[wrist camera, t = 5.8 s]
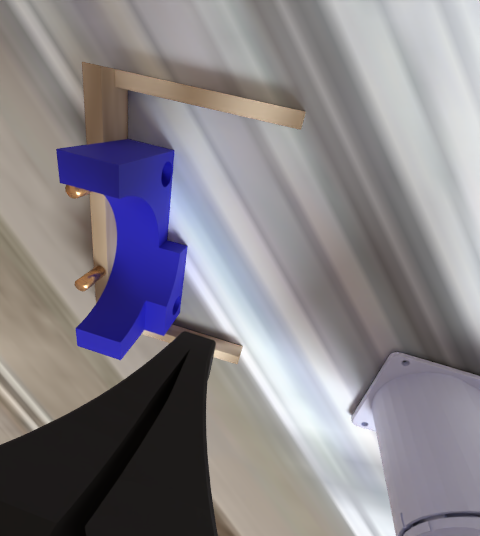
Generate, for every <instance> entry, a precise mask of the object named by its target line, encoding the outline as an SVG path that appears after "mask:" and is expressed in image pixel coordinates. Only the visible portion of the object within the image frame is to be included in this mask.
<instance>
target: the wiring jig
mask: <svg viewBox="0 0 480 536" xmlns="http://www.w3.org/2000/svg"><path fill="white" fill-rule="evenodd" d="M82 71H83V88H84V105H85V122H86V140H87V145H88V144H95V143H103V142H110V141H117V140H124V139H128V90H131V91H135V92H139V93H144V94H148V95H152V96H157V97H161V98H165V99H170V100H174V101H178V102H183V103H187V104H191V105H196V106H200V107H204V108H209V109H213V110H217V111H222V112H226V113H230V114H235V115H239V116H243V117H248V118H252V119H256V120H261V121H265V122H269V123H274V124H278V125H282V126H287V127H291V128H295V129H300V130H301V128H302V124H303V121H304V117H305V113H306V112H304V111H300V110H295V109H291V108H287V107H282V106H278V105H273V104H269V103H264V102H260V101H255V100H251V99H246V98H242V97H237V96H233V95H229V94H224V93H220V92H215V91H211V90H206V89H202V88H197V87H193V86H188V85H184V84H179V83H175V82H171V81H166V80H162V79H157V78H153V77H148V76H144V75H139V74H135V73H130V72H126V71H121V70H117V69H112V68H108V67H103V66H99V65H94V64H90V63H85V62H82ZM65 189H66V192H67V194H68V195H69V196H70V197H71V198H74V199H75V198H79V197H81V196H84V195H87V194H90V208H91V225H92V242H93V259H94V269H92V270H91V271H89V272H88V273H86V274H85V275H84V276H82V277H81V278H79V279H78V280H76V281H75V286H76V288H77V289H78V290H80V291H85V290H87V289H88V288H89V287H91V286H92V285H93V284H94V283H95V293H96V303H97V302H98V300H99V298H100V297H101V295H102V293H103V291H104V289H105V287H106V285H107V282H108V280H109V277H110V274H111V271H112V268H113V264H114V260H115V254H116V247H117V227H116V221H115V216H114V213H113V210H112V207H111V205H110V203H109V202H108V200H107V198H106V197H105V196H104V195H103V194H100V193H96V192H92V191H88V190H85V189H81V188H77V187H74V186H70V185H66V187H65ZM183 331H186V332H190V333H193V334H196V335H199V336H202V337H205V338H209V339H212V340H214V341H215V342H216V346H215V351H214V356H213V357H216V358H219V359H222V360H225V361H228V362H231V363H235V364H238V361H239V357H240V354H241V351H242V347H243V346H240V345H237V344H233V343H230V342H227V341H224V340H221V339H217V338H214V337H211V336H208V335H204V334H201V333H198V332H195V331H192V330H188V329H185V328H182V327H179V326H175V325H171V327H170V328H169V329H168V331H167V332H166V334H165V335H164V336H162V335H159V334H156V333H152V332H149V331H146V330H144V331H143V332H142V334H143V335H146V336H150V337H153V338H156V339H159V340H162V341H165V342H168V343H171V342H172V341H173V340H174V339H175V338H176V337H177V336H178V335H179V334H180V333H181V332H183Z"/></svg>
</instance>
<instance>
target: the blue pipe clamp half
mask: <svg viewBox="0 0 480 536" xmlns="http://www.w3.org/2000/svg"><path fill="white" fill-rule="evenodd" d="M56 150H57V160H58V169H59V178H60V183H63V184H66V185H70V186H74V187H77V188H81V189H85V190H88V191H92V192H96V193H100V194H103V195H104V196H105V197H106V198H107V200H108V202H109V203H110V205H111V207H112V210H113V213H114V216H115V221H116V227H117V247H116V254H115V260H114V264H113V268H112V271H111V274H110V277H109V280H108V282H107V285H106V287H105V289H104V291H103V293H102V295H101V297H100V298H99V300H98V302H97V303H96V305H95V306H94V308H93V309H92V311H91V312H90V313H89V314H88V316H87V317H86V318H85V319H84V320H83V321H82V322H81V324H79V325H78V326H77V327H76V336H77V345H78V346H80V347H83V348H86V349H89V350H92V351H95V352H98V353H101V354H104V355H107V356H110V357H113V358H116V359H119V360H121V359H122V358H123V357H124V355H125V354H126V353H127V351H128V350H129V349H130V348H131V346H132V345H133V344H134V343H135V341H136V340H137V339H138V337H139V336H140V335H141V334H142V332H143V331H144V330H146V331H149V332H152V333H156V334H159V335H162V336H164V335H165V334H166V332H167V331H168V329H169V328H170V327H171V325H172V324H173V322H174V321H175V319H176V318H177V316H178V315H179V313H180V305H181V297H182V288H183V280H184V271H185V263H186V254H187V246H186V245H183V244H179V243H176V242H172V241H168V240H167V237H168V224H169V212H170V199H171V186H172V174H173V161H174V150H171V149H167V148H163V147H159V146H155V145H151V144H147V143H143V142H139V141H135V140H131V139H124V140H117V141H110V142H103V143H95V144H88V145H81V146H74V147H67V148H60V149H56Z"/></svg>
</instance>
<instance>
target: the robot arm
mask: <svg viewBox="0 0 480 536" xmlns="http://www.w3.org/2000/svg"><path fill="white" fill-rule="evenodd" d="M215 346H216V342H215V341H214V340H212V339H209V338H205V337H202V336H199V335H196V334H193V333H190V332H186V331H183V332H181V333H180V334H179V335H178V336H177V337H176V338H175V339H174V340H173V341H172V342H171V343H170V344H169V345H168V346H166V347H165V348H164V349H163V350H162V351H161V352H159V353H158V354H157V355H156V356H155V357H153V358H152V359H151V360H150V361H148V362H147V363H146V364H145V365H143V366H142V367H141V368H139V369H138V370H137V371H135V372H134V373H133V374H131V375H130V376H128V377H127V378H126V379H124V380H123V381H121V382H120V383H118V384H117V385H116V386H114V387H112V388H111V389H109V390H108V391H106V392H105V393H103V394H101V395H100V396H98V397H97V398H95V399H93V400H91V401H90V402H88V403H86V404H84V405H83V406H81V407H79V408H77V409H76V410H74V411H72V412H70V413H68V414H66V415H64V416H62V417H61V418H58V419H56V420H54V421H52V422H50V423H48V424H46V425H44V426H42V427H40V428H38V429H36V430H34V431H32V432H30V433H27V434H25V435H23V436H21V437H18V438H16V439H13V440H11V441H9V442H6V443H4V444H1V445H0V536H218V534H217V529H216V522H215V516H214V509H213V502H212V494H211V487H210V476H209V466H208V456H207V439H206V394H207V381H208V378H209V375H210V370H211V365H212V360H213V356H214V351H215ZM404 360H407V361H406V362H402V361H404ZM351 419H352V423H353V424H354V425H356V426H359V427H362V428H365V429H369V430H372V431H375V432H376V434H377V439H378V444H379V449H380V454H381V460H382V465H383V470H384V475H385V480H386V486H387V491H388V496H389V501H390V506H391V512H392V517H393V522H394V527H395V532H396V536H480V376H478V375H475V374H472V373H468V372H465V371H461V370H458V369H455V368H451V367H448V366H445V365H441V364H438V363H434V362H431V361H428V360H424V359H421V358H418V357H414V356H411V355H407V354H404V353H401V352H393V353H391V354H390V355H389V357H388V359H387V360H386V362H385V363H384V365H383V367H382V368H381V370H380V371H379V373H378V375H377V376H376V378H375V380H374V381H373V383H372V384H371V386H370V388H369V389H368V391H367V393H366V394H365V396H364V397H363V399H362V401H361V402H360V404H359V405H358V407H357V409H356V410H355V412H354V414H353V415H352V418H351Z"/></svg>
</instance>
